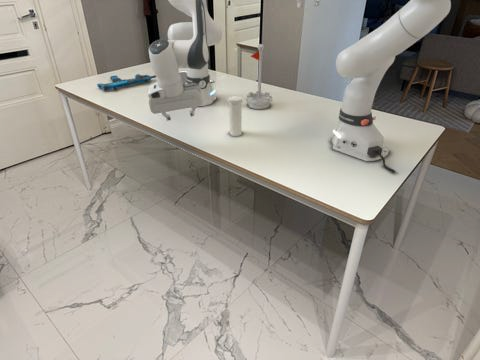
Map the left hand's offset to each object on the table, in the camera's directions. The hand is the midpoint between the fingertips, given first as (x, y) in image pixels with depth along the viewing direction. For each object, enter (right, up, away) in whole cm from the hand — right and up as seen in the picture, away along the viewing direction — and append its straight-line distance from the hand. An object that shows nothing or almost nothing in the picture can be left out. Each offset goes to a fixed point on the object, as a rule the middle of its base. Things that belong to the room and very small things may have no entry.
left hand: (181, 117), depth 134 cm
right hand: (+50, +44, 0) cm, 67 cm away
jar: (+21, -4, +14) cm, 26 cm away
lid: (+21, +9, +5) cm, 24 cm away
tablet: (-11, +39, +80) cm, 90 cm away
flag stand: (+33, +14, +42) cm, 55 cm away
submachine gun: (-47, +35, +74) cm, 95 cm away
